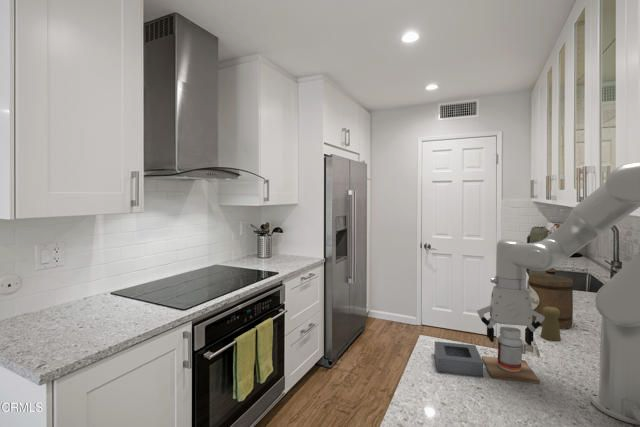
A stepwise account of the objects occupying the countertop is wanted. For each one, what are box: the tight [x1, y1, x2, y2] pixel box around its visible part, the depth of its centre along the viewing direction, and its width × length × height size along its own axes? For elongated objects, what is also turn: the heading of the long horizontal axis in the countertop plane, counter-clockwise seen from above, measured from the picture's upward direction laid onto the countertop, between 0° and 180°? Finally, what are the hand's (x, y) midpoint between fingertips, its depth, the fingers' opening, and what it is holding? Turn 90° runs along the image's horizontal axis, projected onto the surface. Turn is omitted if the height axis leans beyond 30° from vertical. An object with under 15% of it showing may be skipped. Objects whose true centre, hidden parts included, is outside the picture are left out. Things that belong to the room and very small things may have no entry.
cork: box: [540, 307, 562, 342], centre depth 122 cm, size 6×6×11 cm
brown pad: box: [481, 355, 541, 384], centre depth 100 cm, size 12×12×1 cm
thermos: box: [526, 226, 549, 289], centre depth 176 cm, size 9×12×35 cm
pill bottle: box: [497, 325, 523, 372], centre depth 99 cm, size 6×6×11 cm
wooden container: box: [528, 267, 574, 330], centre depth 138 cm, size 15×15×22 cm
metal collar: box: [434, 341, 484, 378], centre depth 103 cm, size 12×12×4 cm
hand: (509, 341), depth 99 cm, fingers open, 9 cm apart
